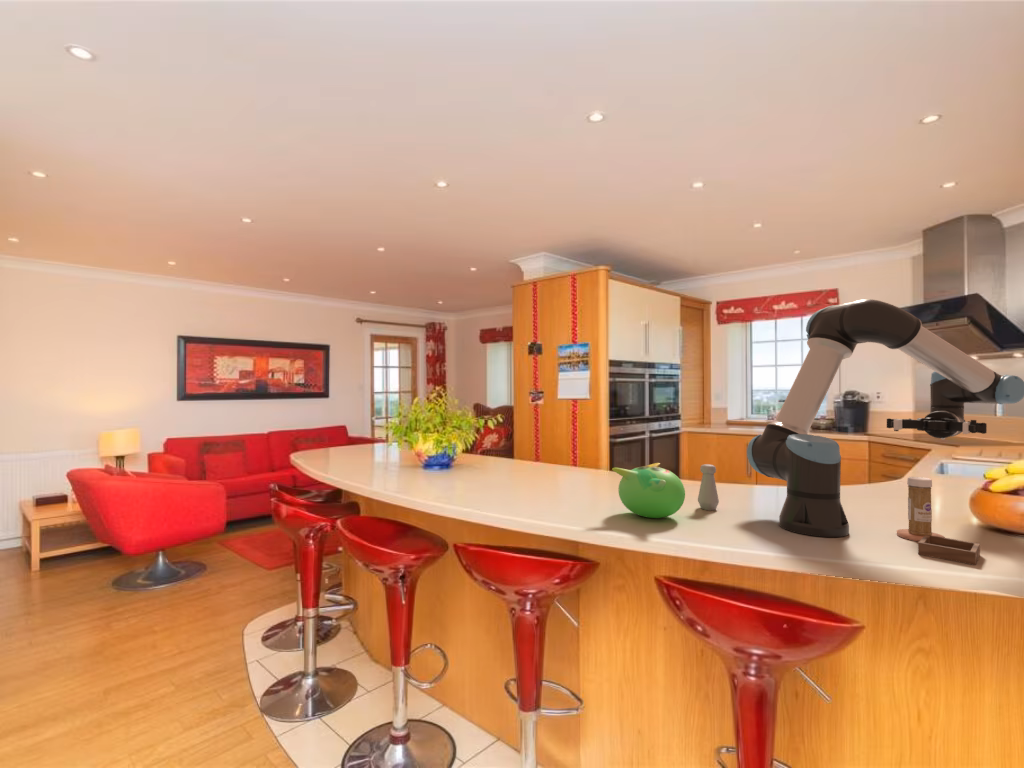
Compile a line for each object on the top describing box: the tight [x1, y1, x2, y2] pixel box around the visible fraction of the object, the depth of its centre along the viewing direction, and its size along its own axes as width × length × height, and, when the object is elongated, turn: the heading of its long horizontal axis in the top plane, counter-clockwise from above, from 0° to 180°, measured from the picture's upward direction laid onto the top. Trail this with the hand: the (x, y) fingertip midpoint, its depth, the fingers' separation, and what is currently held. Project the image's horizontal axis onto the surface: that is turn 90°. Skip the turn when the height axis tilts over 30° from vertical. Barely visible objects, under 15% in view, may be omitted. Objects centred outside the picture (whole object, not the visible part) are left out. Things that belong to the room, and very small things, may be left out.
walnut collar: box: [917, 535, 981, 566], centre depth 107 cm, size 9×9×2 cm
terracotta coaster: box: [896, 528, 946, 543], centre depth 120 cm, size 9×9×1 cm
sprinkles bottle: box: [906, 476, 933, 536], centre depth 120 cm, size 5×5×14 cm
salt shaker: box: [697, 463, 720, 511], centre depth 149 cm, size 6×6×13 cm
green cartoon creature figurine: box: [611, 462, 686, 519], centre depth 138 cm, size 18×17×15 cm
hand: (928, 426), depth 127 cm, fingers open, 13 cm apart
